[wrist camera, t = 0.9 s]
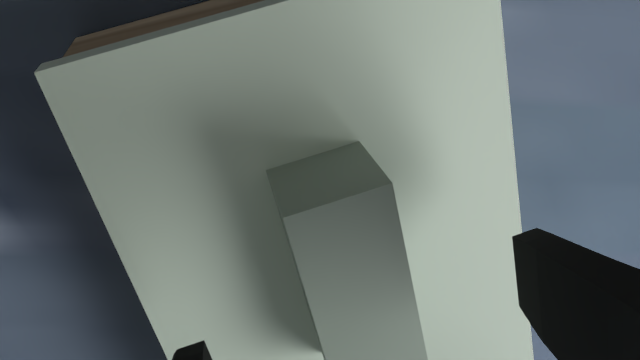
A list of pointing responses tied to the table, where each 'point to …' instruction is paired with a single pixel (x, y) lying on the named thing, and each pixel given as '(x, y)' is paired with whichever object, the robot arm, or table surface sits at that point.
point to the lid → (309, 178)
